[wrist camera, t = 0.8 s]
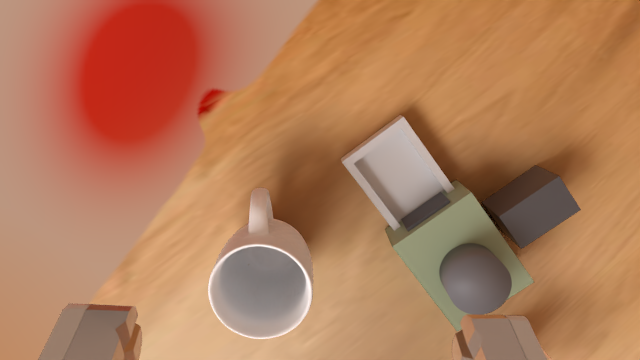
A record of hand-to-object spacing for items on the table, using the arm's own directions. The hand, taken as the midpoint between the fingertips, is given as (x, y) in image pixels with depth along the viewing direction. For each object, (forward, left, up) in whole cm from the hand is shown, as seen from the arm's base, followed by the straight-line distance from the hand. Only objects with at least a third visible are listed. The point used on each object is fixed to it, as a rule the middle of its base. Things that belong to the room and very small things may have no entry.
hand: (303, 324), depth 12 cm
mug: (-9, +14, -47) cm, 50 cm away
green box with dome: (-19, -4, -47) cm, 51 cm away
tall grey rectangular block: (-24, -15, -47) cm, 55 cm away
